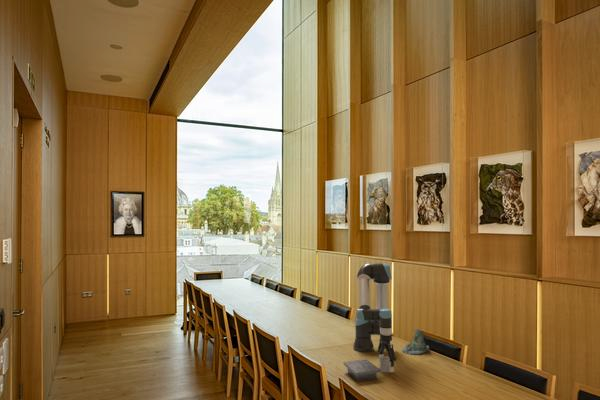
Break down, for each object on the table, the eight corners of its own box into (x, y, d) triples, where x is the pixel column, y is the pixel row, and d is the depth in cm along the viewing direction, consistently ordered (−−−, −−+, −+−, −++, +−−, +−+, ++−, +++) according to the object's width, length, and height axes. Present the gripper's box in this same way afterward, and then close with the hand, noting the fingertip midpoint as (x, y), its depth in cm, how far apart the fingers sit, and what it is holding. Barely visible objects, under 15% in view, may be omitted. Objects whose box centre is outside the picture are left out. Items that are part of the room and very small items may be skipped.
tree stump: (395, 349, 313) (399, 325, 316) (418, 353, 319) (421, 329, 322) (410, 355, 296) (414, 329, 299) (433, 359, 302) (437, 334, 305)
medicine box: (391, 370, 268) (391, 356, 269) (393, 372, 264) (393, 358, 264) (379, 370, 268) (379, 356, 268) (381, 373, 263) (380, 358, 264)
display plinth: (343, 371, 266) (343, 361, 267) (366, 368, 271) (366, 359, 271) (356, 383, 247) (356, 372, 247) (380, 380, 251) (380, 369, 252)
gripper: (371, 329, 278) (372, 362, 277) (390, 339, 254) (390, 375, 253) (382, 328, 280) (382, 361, 279) (401, 338, 256) (401, 374, 255)
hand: (386, 368), depth 266 cm, fingers open, 13 cm apart
